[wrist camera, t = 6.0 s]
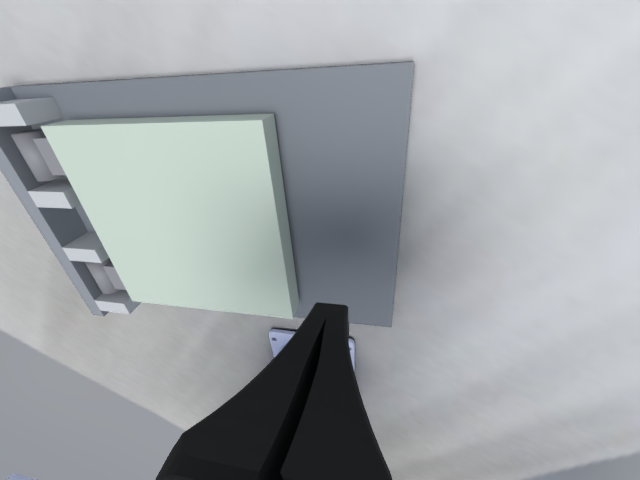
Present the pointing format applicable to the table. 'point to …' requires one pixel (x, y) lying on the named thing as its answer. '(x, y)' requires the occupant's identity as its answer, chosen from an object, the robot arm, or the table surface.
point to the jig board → (295, 157)
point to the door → (179, 207)
